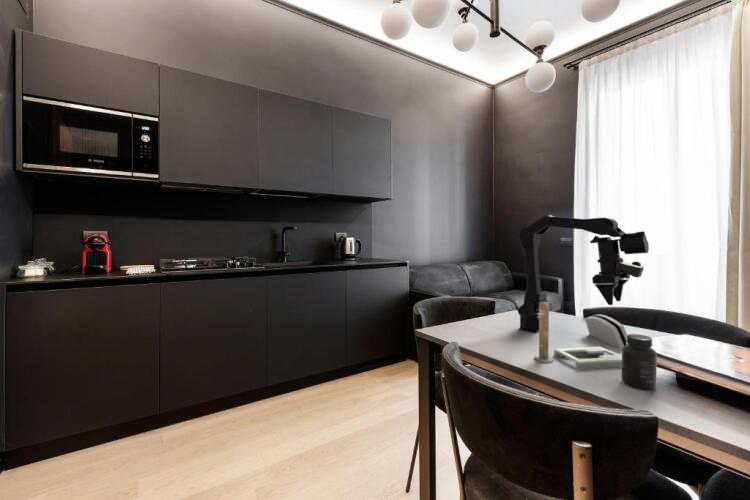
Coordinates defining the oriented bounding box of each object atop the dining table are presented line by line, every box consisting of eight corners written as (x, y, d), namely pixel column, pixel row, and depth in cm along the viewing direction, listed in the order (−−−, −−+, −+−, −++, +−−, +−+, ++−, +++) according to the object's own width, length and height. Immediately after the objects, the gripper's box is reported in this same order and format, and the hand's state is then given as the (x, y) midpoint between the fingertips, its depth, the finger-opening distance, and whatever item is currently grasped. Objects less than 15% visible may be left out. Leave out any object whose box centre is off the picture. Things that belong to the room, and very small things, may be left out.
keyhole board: (579, 369, 95) (579, 361, 95) (554, 355, 106) (554, 348, 106) (630, 366, 97) (630, 359, 97) (600, 353, 108) (600, 346, 108)
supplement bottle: (614, 379, 88) (615, 333, 88) (639, 378, 89) (640, 332, 88) (637, 391, 82) (638, 341, 81) (664, 390, 82) (665, 340, 82)
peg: (532, 360, 102) (532, 303, 102) (536, 355, 106) (537, 300, 106) (551, 364, 99) (551, 305, 99) (554, 359, 103) (555, 302, 103)
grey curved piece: (637, 349, 111) (627, 320, 111) (623, 354, 111) (613, 325, 111) (602, 334, 128) (593, 309, 128) (590, 338, 128) (581, 313, 128)
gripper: (631, 255, 102) (637, 308, 102) (645, 252, 115) (651, 299, 114) (589, 257, 111) (594, 306, 110) (606, 255, 123) (611, 299, 122)
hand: (614, 303), depth 114 cm, fingers open, 9 cm apart
